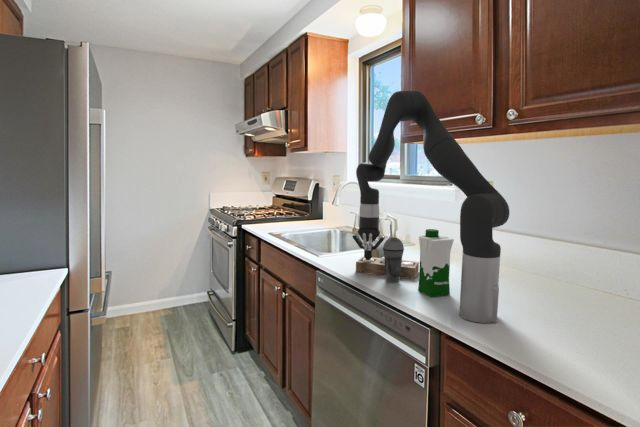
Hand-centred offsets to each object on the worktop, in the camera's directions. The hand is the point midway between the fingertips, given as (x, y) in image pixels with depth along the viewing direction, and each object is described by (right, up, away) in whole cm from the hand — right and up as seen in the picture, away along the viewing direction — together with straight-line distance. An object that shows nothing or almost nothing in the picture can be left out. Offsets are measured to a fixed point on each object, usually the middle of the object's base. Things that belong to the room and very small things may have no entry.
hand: (368, 259), depth 149 cm
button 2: (+14, -4, -5) cm, 15 cm away
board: (+7, -5, -2) cm, 9 cm away
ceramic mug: (+7, -3, +15) cm, 17 cm away
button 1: (0, -3, 0) cm, 3 cm away
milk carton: (+18, -8, -26) cm, 32 cm away
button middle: (+7, -2, -3) cm, 8 cm away
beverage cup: (+7, -6, -14) cm, 16 cm away
